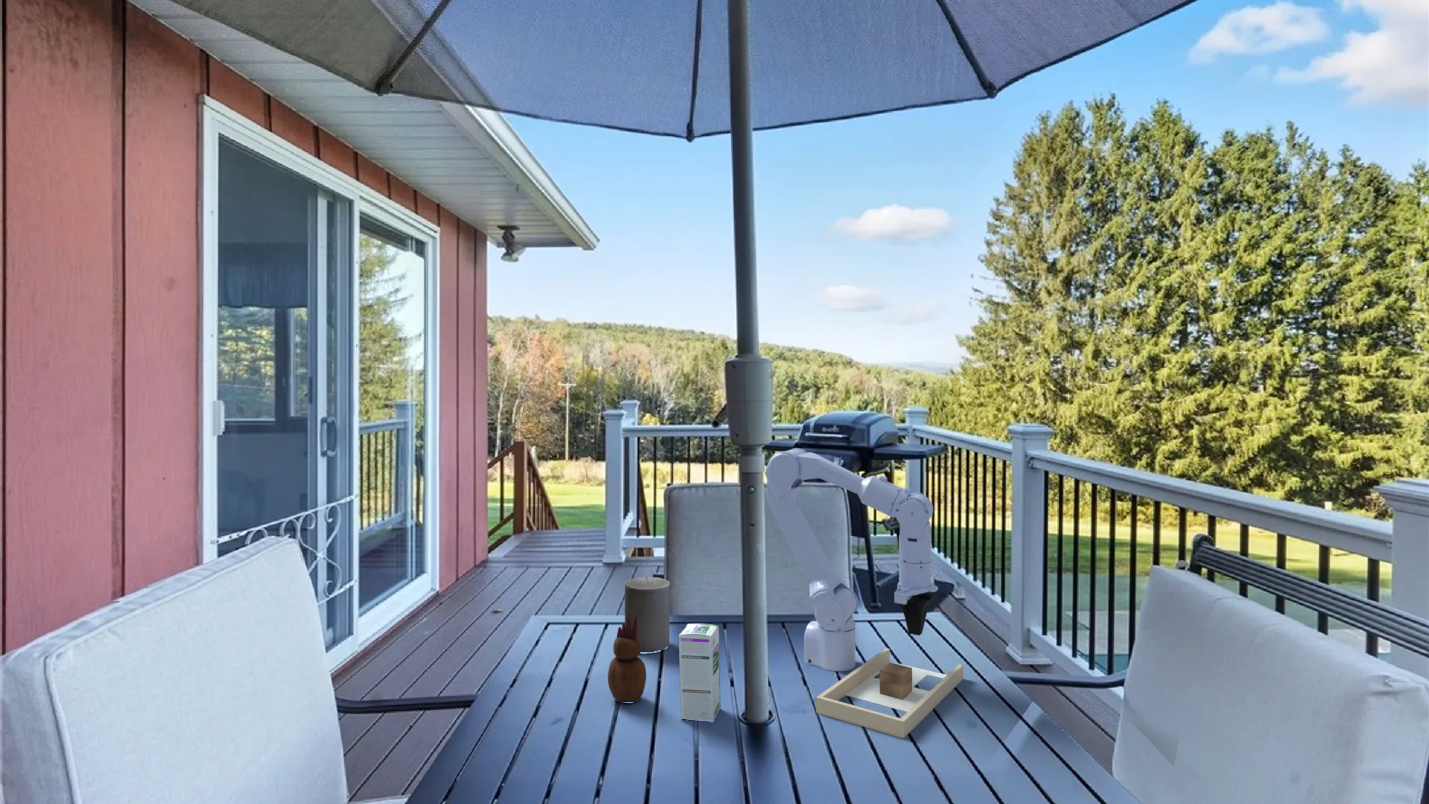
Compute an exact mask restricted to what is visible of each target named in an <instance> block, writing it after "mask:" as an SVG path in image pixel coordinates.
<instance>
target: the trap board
mask: <svg viewBox="0 0 1429 804" xmlns="http://www.w3.org/2000/svg"><path fill="white" fill-rule="evenodd" d="M888 663H894V664H898V665H902V666H907V667H911V668H912V692H911V693H910V694H909V695H908V696H907V697H905V698H904V699H903V700H901V699H898V698H894V697H890V696H886V695H882V694H880V678H878V677H876V676H878V675H880V669H881V668H883V667H884V666H885V665H887V664H888ZM927 676H931V677H935V678H939V679H941V680H940V681H939V682H938V683H937V684H936V685H935V686H934V687H933V688H932V689H930V690H926V689H922V688H919V687H915V686H917V684H918V683H920V682H921V681H922V680H923V679H925V677H927ZM963 680H964V665H963V664H960V663H959V664H957V665H956V666H955V667H954V668H953V669H952V670H951V671H950V672H949V673H948V674H945V673H941V672H936V671H932V670H929V669H928V670H927V669H925V668H924V669H923V668H918V667H915V666H910V665H906V664H901V663H898V662H897V663H896V662H892V661H891V651H890V648H887V647H885V648H884V649H882V650H881V651H880V652H878V653H877V654H875V655H874V656H872V658H870V659H868V660H867V661H865V662H864V663H863V664H861V665H860V666H859V667H857V668H856V669H853V671H851V672H849V674H847V675H846V676H844V677H842V678H841V679H840V680H838V681H837V682H836V683H834V684H833V685H831V686H830V687H829V688H827V689H825V690H824V691H823V692H821V693H820V694H819V695H817V696H816V697H815V701H816V702H815V707H816V708H815V711H816V714H819V715H822V716H826V717H829V718H832V719H833V718H834V719H836V720H840V721H842V722H843V721H844V722H847V723H850V724H854V725H856V726H860V727H864V728H867V729H871V730H872V731H873V730H874V731H877V732H880V733H884V734H886V735H887V734H888V735H891V736H893V737H897V738H902V739H905V738H906V737H907V736H908V734H910V733H911V732H912V730H913V729H914V728H916V727H917V726H918V725H919V724H920V723H921V722H922V721H923V720H924V719H925V717H927V716H928V715H929V714H930V713H931V712H932V711H933V710H934V709H935V708H936V707H937V706H938V705H939V704H940V703H941V702H942V701H943V700H944V699H945V698H946V696H948V695H949V694H950V693H951V692H952V691H953V690H954V689H955V688H956V687H957V686H958V685H959V684H960V683H961V682H962V681H963ZM845 696H847V697H851V698H854V699H858V700H862V701H865V702H869V703H873V704H877V705H880V706H884V707H887V708H891V709H895V710H898V711H902V712H905V714H904V715H902V716H901V717H897V716H893V715H890V714H885V713H882V712H879V711H875V710H871V709H867V708H864V707H860V706H857V705H853V704H850V703H846V702H842V701H840V700H842V699H843V698H845Z"/></svg>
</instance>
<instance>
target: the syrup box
mask: <svg viewBox="0 0 1429 804" xmlns="http://www.w3.org/2000/svg"><path fill="white" fill-rule="evenodd" d="M719 629H720V628H719V625H716V624H709V623H687V624H686V626H685V628H683V629H682V631H681V632H680V633H679V635H678V645H679V646H678V647H679V648H678V650H679V653H678V655H679V657H678V658H679V690H680V691H679V692H680V693H679V696H680V697H679V698H680V699H679V700H680V719H681V720H682V719H697V720H699V719H702V720H712V721H713V720H714V719H716V718H717V716H718V714H719V712H720V710H719V708H720V709H721V667H720V666H721V665H720V664H721V663H720V662H721V661H720V636H719V635H720V634H719V633H720V631H719ZM718 711H719V712H718ZM716 715H717V716H716ZM715 717H716V718H715ZM714 721H715V720H714Z"/></svg>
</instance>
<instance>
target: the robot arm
mask: <svg viewBox="0 0 1429 804" xmlns="http://www.w3.org/2000/svg"><path fill="white" fill-rule="evenodd" d="M765 470H766V472H765V471H764V475H765V477H766V500H767V504H768V507H769V509H770V511H771V513H772V514H773V517H774V518H775V520H776V522H777V524H778V526H779V528H780V530H781V532H782V533H783V535H784V538H785V540H786V542H787V543H788V546H789V547H790V549H791V551H792V553H793V555H794V556H795V559H796V561H797V563H798V565H799V567H800V568H801V571H802V572H803V574H804V576H805V578H806V580H807V583H808V584H809V599H810V601H811V602H812V605H813V615H814V618H815V620H811V621H810V622H809V623H808V624H807V625H806V628H805V631H804V636H803V663H805V664H808V665H811V666H816V667H819V668H821V669H824V670H826V671H832V672H847V671H851V670H854V668H855V667H856V622H855V620H854V618H853V616H854V614H855V612H856V611H857V609H858V606H859V603H858V601H859V600H858V597H857V594H856V593H855V592H854V590H852V589H851V587H848V586H847V584H846V583H845V582H844V580H843V578H842V577H841V576H840V575H838V574H837V573H836V572H835V571H834V570H833V568H832V567H831V565H830V563H829V560H828V559H827V557H826V555H825V552H824V551H823V550H822V549H823V548H822V547H821V545H820V543H819V542H818V540H817V538H816V536H815V534H814V532H813V531H812V528H811V527H810V525H809V523H808V521H807V519H806V517H805V515H804V514H803V511H802V510H801V507H800V506H799V504H798V502H797V496H798V494H799V492H800V488H801V485H802V484H803V483H804V481H807V480H813V479H821V480H823V481H826V482H828V483H830V484H833V485H836V486H837V487H840V488H842V489H845V490H847V491H849V492H852V493H854V494H857V496H858V498H859V500H860V502H861V504H863V505H866V506H867V507H869V508H871V509H874V510H876V511H877V512H880V513H882V514H884V515H886V516H888V517H891V518H896V520H897V522H898V524H899V535H898V580H899V581H898V583H897V587H896V590H895V591H894V594H893V595H894V604H898V605H899V607H900V608H901V611H902V613H903V616H904V620H905V625H906V628H907V631H908V635H909V634H910V635H914V636H918V637H919V636H921V635H922V634H923V630H924V627H925V623H926V617H927V614H928V612H929V609H930V606H931V604H932V602H933V600H934V598H935V597H934V596H935V595H934V594H933V593H934V592H937V591H938V589H939V587H938V585H935V576H933V575H932V535H931V531H932V529H931V527H932V526H931V521H930V520H931V519H932V516H933V512H934V505H933V503H932V501H931V499H930V498H929V497H927V496H926V495H924V493H922V492H919V491H915V492H912V493H911V491H912V489H911V488H909V487H905V488H903V487H900V486H898V485H897V484H896V485H895V484H894V483H892V482H889V481H888V477H886V476H884V475H879V477H878V476H876V475H871V476H870V477H867V478H864V477H863V476H861V475H859V474H857V473H855V472H852V471H851V470H849V469H847V468H845V467H843V466H841V465H838V464H837V463H834V462H833V461H830V460H829V459H827V458H825V457H823V456H821V455H819V454H817V453H814V452H811V451H809V452H807V450H805V449H803V448H799V447H798V448H797V447H794V448H791V449H789V450H785V451H777V452H776V453H773V455H772V456H771V457H770V459H769V461H768V462H767V464H766V467H765Z"/></svg>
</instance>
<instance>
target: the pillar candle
mask: <svg viewBox="0 0 1429 804" xmlns="http://www.w3.org/2000/svg"><path fill="white" fill-rule="evenodd" d="M670 587H671V582H670V580H667V579H664V578H661V577H650V576H645V577H636V578H631V579H629V580H627V581H625V584H624V624H625V628H626V625H627V618H629V620H630V625H631V630H632V626H633V622H634V619H635V616H637V638H638V639H639V641H640V652H654V651H658V650H663V649H665V648H666V647H668V646H669V647H670V632H671V631H670V629H671V628H670V623H671V622H670V621H671V620H670V615H671V613H670V611H671V610H670V607H671V606H670V605H671V604H670V601H671V600H670V599H671V598H670V596H671V595H670V594H671V593H670V591H671V589H670Z"/></svg>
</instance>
